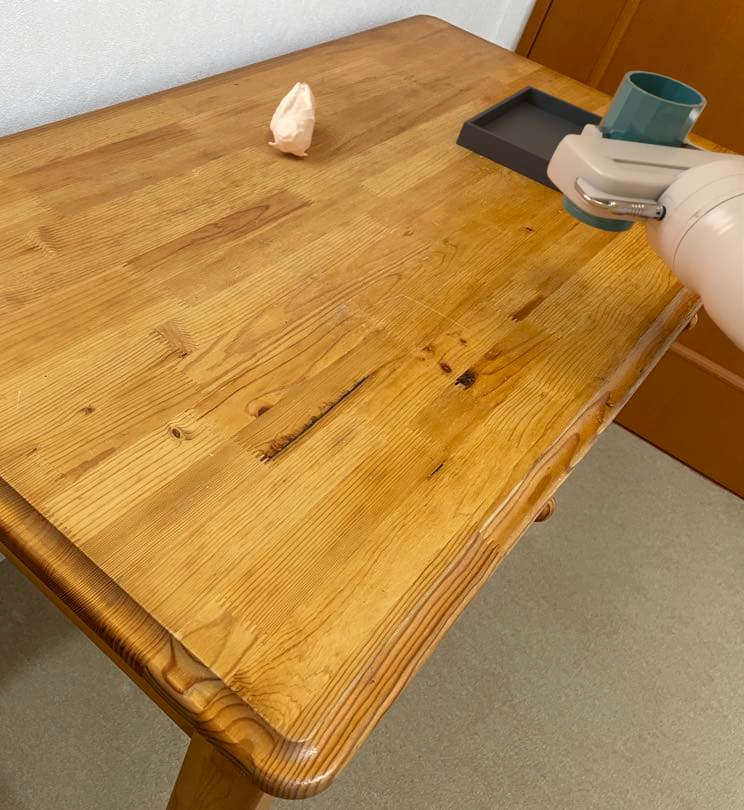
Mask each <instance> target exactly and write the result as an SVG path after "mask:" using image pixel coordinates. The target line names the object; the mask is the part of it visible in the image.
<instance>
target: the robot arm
mask: <svg viewBox="0 0 744 810" xmlns="http://www.w3.org/2000/svg"><path fill="white" fill-rule="evenodd" d="M609 136H610V133H609V132H608V131H607V130H606V129H605V128H604V127H603V126H597V125H591V124H587V125H586V126H585V127H584V129H583V131H582V133H581V135H574V134H570V135H567V136H565V137H564V139H563V140H562V141H561V142H560V144H559V145H558V147H557V148H556V150H555V152H554V154H553V156H552V159H551V161H550V163H549V166H548V169H547V175H548V177H549V178H550V180H551V181H552V182H553V183H554V184H555V185H556V186H557V187H558V188H559V189H560V190H561V191H562V192H563V193H564V194H565V195H566V196H567V197H568V198H569V199H570V200H571V201H572V202H573V203H574V204H576V205H577V206H578V207H579V208H581V209H582V210H584V211H586V212H587V213H589V214H592V215H595V216H598V217H603V218H610V219H619V220H629V221H636V222H639V223H646V226H645V237H646V242H647V244H648V245H649V247H650V248H651V249H652V251H653V252H654V253H655V254H656V256H657V257H658V258H659V259H660V260H661V261H662V263H663V264H664V265H665V267H667V269H668V270H669V271H670V272H671V273H672V274H673V276H674V277H675V278H676V279H677V281H678V282H680V284H681V285H683V287H684V288H686V289H688V290H689V291H690V292H692V293H694V294H696V295H698V296H699V297H700V299H701V302H702V306H703V308H704V310H705V312H706V314H707V315H708V316H709V318H710V319H711V320H712V322H713V323H714V324H715V325H716V326H717V327H718V328H719V329H720V330H721V332H722V333H723V334H724V335H725V336H726V337H727V338H728V339H729V340H730V341H731V342H732V343H733V344H734V345H735V346H736V347H737V348H738V349H739V350H740V351H741V352H742V353H743V354H744V155H740V154H732V153H724V152H717V151H715V152H714V151H711V150H709V149H706V148H704V147H702V146H700V145H698V144H695V143H694V142H692V141H691V140H690V139H689V138H688V137H686V139H685V141H684V142H683V144H682V146H681V147H680V148H677V147H669V146H661V145H653V144H646V143H638V142H630V141H622V140H614V139H608V138H609ZM563 193H562V194H563ZM564 194H563V195H564Z"/></svg>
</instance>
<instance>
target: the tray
mask: <svg viewBox="0 0 744 810" xmlns="http://www.w3.org/2000/svg"><path fill="white" fill-rule="evenodd" d="M602 118H603V116H602V115H599V114H597V113H595V112H592V111H590V110H587V109H586V108H583V107H581V106H579V105H575V104H573V103H571V102H568V101H566V100H564V99H562V98H560V97H557V96H556V95H555V96H554V95H552V94H550V93H547V92H545V91H543V90H541V89H538V88H536V87H534V86H532V85H527V86H525V87H524V88H522V89H520V90H518V91H517V92H514V93H513V94H511V95H509V96H507V97H506V98H504V99H502V100H500V101H498V102H496V103H495V104H493V105H492V106H490V107H488V108H486V109H485V110H483V111H481V112H480V113H478V114H476V115H473V116H472V117H471V118H469V119H466V120H465V121H464V122H463V124H462V126H461V129H460V131H459V134H458V137H457V139H456V142H455V143H456V145H459V146H462V147H463V148H466V149H467V150H470V151H472V152H474V153H476V154H479V155H480V156H483V157H484V158H487V159H489V160H491V161H494V162H495V163H498V164H499V165H502V166H504V167H505V168H508V169H510V170H512V171H515V172H517V173H518V174H521V175H523V176H525V177H527V178H529V179H532V180H533V181H536V182H537V183H540V184H542V185H544V186H546V187H548V188H551V189H552V190H554V191H557V192H559V193H561V194H563V195H564V193H563V192H562V191H561V190H560V189H559V188H558V187H557V186H556V185H555V184H554V183H553V182H552V181H551V180H550V178H549V177H548V175H547V169H548V166H549V163H550V161H551V159H552V156H553V154H554V152H555V150H556V148H557V147H558V145H559V144H560V142H561V141H562V140H563V139H564V137H565V136H567V135H570V134H574V135H581V133H582V131H583V129H584V127H585V126H586V125H587V124H591V125H597V126H599V124H600V122H601V120H602Z"/></svg>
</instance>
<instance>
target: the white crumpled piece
mask: <svg viewBox="0 0 744 810" xmlns="http://www.w3.org/2000/svg"><path fill="white" fill-rule="evenodd" d="M315 124H316V100H315V96H314V93H313V92H312V90H311V86H309V84H308V83H306V81H303V82H302V83H301V82H297V83H296V84H295V85H294V86H293V87H292V89H291V90H290V91H288V93H287V94H286V95H285V96H284V97H283V98H282V100H281V101H280V103H279V105H278V106H277V107H276V109H275V111H274V114H273V116H272V118H271V120H270V123H269V128H270V131H271V132H272V134H273V138H274V142H271V141H269V142H268V145H269V146H271V147H273V148H274V149H276V150H278V151H281V152H283V153H290V154H293V155H294V156H298V157H307V156H309V154H308V153H305V151H307V150H308V149H310V146H311V143H312V138H313V133H314V130H315V129H314V127H315Z"/></svg>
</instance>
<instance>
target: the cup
mask: <svg viewBox="0 0 744 810" xmlns="http://www.w3.org/2000/svg"><path fill="white" fill-rule="evenodd" d="M707 104H708V101H707V99H706V97H705V96H704V95H703V94H702V93H701V92H699V90H697V89H695V88H694V87H692V86H690V85H688V84H686V83H684V82H682V81H679V80H678V79H675V78H672V77H670V76H666V75H663V74H659V73H656V72H650V71H643V70H631V71H628V72H626V73H625V74H624V75H623V77H622V79H621V81H620V83H619V84H618V87H617V89H616V91H615V93H614V95H613V96H612V99H611V100H610V102H609V104H608V106H607V108H606V111H605V113H604V114H603V116H602V117H603V118H602V120H601V122H600V124H599V126H603V127H604V128H605V129H606V130H607V131H608V132H609V133H610V136H609V138H608V139H614V140H622V141H630V142H638V143H646V144H653V145H661V146H669V147H677V148H680V147H681V146H682V144H683V142H684V141H685V139H686V138H688V136H689V134H690V132H691V130H692V129H693V127H694V125H695V124H696V122H697V120H698V119H699V117H700V115H701V114H702V112H703V111H704V109H705V107H706V105H707ZM560 202H561V205H562V208H563V209H564V210H565V211H566V212H567V213H568V214H569V215H570V216H571V217H573V218H574V219H575V220H577V221H579V222H581V223H583V224H584V225H587V226H589V227H592V228H594V229H598V230H601V231H605V232H609V233H625V232H628V231H630V230H631V229H632V228H633V227H634V226H635V223H636V222H637V221H629V220H619V219H610V218H603V217H598V216H595V215H592V214H589V213H587V212H586V211H584V210H582V209H581V208H579V207H578V206H577V205H576V204H574V203H573V202H572V201H571V200H570V199H569V198H568V197H567V196H566V195H565V194H563V195H562V197H561V199H560Z"/></svg>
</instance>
